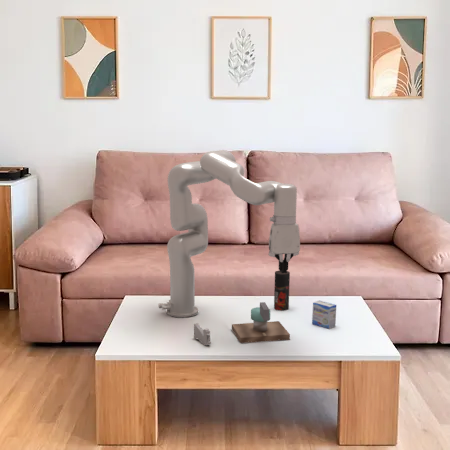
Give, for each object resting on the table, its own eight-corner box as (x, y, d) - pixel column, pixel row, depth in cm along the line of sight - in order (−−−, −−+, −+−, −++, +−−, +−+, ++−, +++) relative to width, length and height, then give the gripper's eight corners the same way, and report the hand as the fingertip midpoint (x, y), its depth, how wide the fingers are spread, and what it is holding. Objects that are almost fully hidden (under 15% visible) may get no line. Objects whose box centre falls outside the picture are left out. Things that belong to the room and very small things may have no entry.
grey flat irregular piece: (197, 338, 246) (211, 346, 237) (193, 338, 245) (208, 347, 237) (197, 322, 244) (211, 330, 236) (193, 323, 244) (208, 331, 235)
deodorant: (291, 307, 279) (292, 271, 276) (284, 311, 274) (285, 275, 271) (278, 305, 282) (279, 269, 279) (271, 308, 277) (272, 272, 274)
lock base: (240, 343, 241) (240, 326, 239) (231, 329, 254) (231, 313, 253) (289, 339, 244) (290, 323, 243) (278, 326, 258) (279, 310, 256)
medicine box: (311, 324, 260) (312, 302, 258) (318, 321, 263) (319, 299, 262) (329, 329, 255) (329, 307, 253) (335, 326, 258) (336, 304, 256)
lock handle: (249, 315, 251) (249, 297, 249) (268, 314, 252) (268, 296, 250) (256, 329, 237) (256, 309, 235) (276, 328, 238) (276, 309, 236)
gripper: (267, 223, 230) (265, 276, 233) (309, 221, 233) (307, 273, 237) (260, 218, 237) (259, 270, 240) (301, 217, 240) (299, 268, 244)
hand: (283, 272), depth 239 cm, fingers closed
